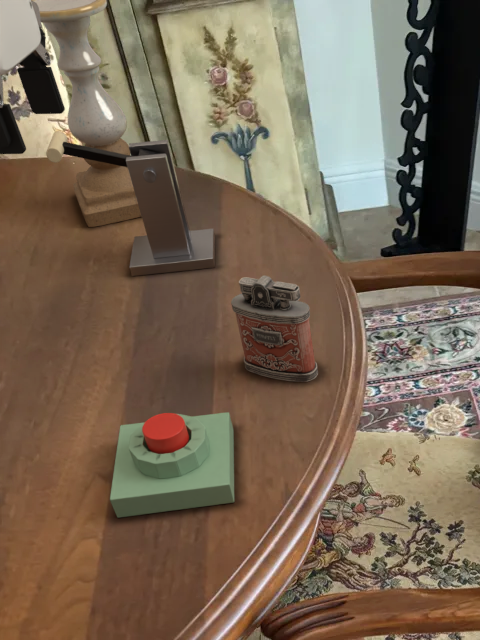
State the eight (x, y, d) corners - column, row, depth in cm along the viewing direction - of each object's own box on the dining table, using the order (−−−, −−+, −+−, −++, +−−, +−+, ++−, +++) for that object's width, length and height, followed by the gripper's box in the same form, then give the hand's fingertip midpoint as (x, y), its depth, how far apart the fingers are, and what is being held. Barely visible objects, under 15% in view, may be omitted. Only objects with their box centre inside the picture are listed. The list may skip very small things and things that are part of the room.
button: (146, 457, 67) (140, 441, 66) (148, 430, 69) (143, 415, 68) (188, 452, 67) (183, 436, 66) (189, 425, 70) (185, 410, 68)
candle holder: (88, 228, 104) (16, 19, 86) (76, 196, 111) (7, -4, 93) (169, 210, 107) (116, 4, 89) (152, 180, 114) (100, -17, 96)
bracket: (132, 276, 95) (98, 168, 86) (136, 245, 100) (105, 140, 91) (214, 267, 96) (190, 159, 86) (215, 237, 101) (192, 132, 92)
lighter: (239, 371, 81) (219, 282, 74) (254, 353, 83) (236, 265, 76) (309, 385, 79) (296, 296, 72) (323, 366, 81) (311, 277, 74)
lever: (46, 165, 86) (45, 142, 84) (53, 147, 89) (52, 125, 88) (162, 188, 90) (163, 166, 88) (164, 170, 93) (165, 149, 91)
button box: (117, 518, 67) (102, 484, 64) (126, 443, 74) (114, 409, 71) (234, 502, 68) (225, 468, 65) (233, 430, 75) (225, 396, 72)
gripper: (-50, -115, 68) (27, 100, 81) (-160, -73, 56) (-49, 170, 69) (33, -118, 67) (98, 98, 80) (-60, -76, 56) (33, 169, 68)
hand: (30, 131), depth 74 cm, fingers open, 9 cm apart
